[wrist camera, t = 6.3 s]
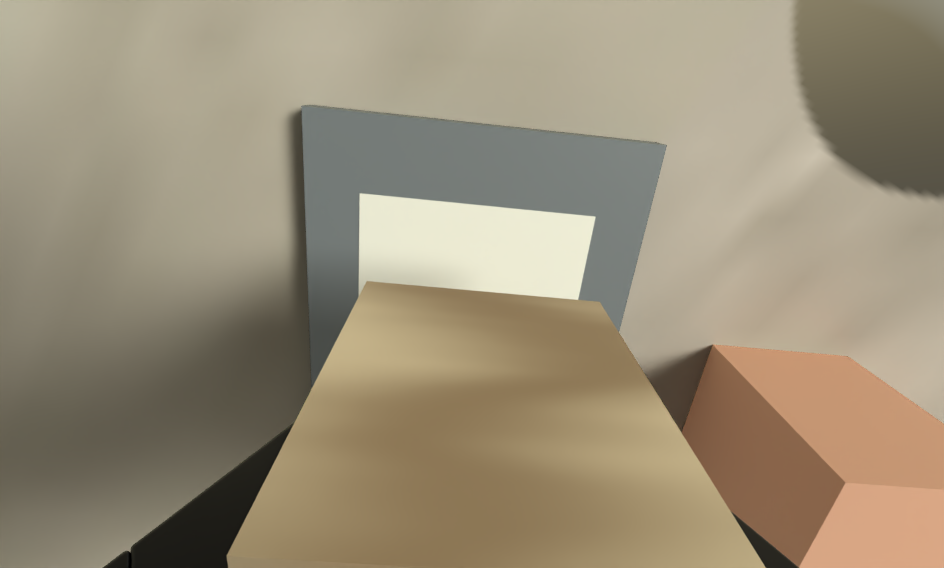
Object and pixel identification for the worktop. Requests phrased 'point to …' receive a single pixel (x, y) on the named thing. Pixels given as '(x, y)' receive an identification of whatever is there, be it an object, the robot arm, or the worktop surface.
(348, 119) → the grey framed square tile
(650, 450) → the oak block
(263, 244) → the worktop surface
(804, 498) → the terracotta block
